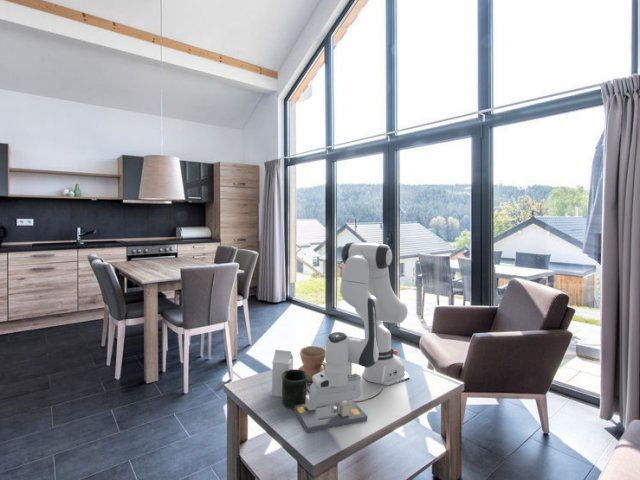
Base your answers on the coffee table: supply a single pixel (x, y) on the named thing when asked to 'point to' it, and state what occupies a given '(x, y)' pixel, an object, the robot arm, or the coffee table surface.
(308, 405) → the off white slider
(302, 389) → the mug
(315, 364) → the ceramic jug
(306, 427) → the switch panel
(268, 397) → the coffee table surface
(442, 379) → the coffee table surface
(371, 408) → the coffee table surface
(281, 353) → the milk carton
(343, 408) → the sand slider
